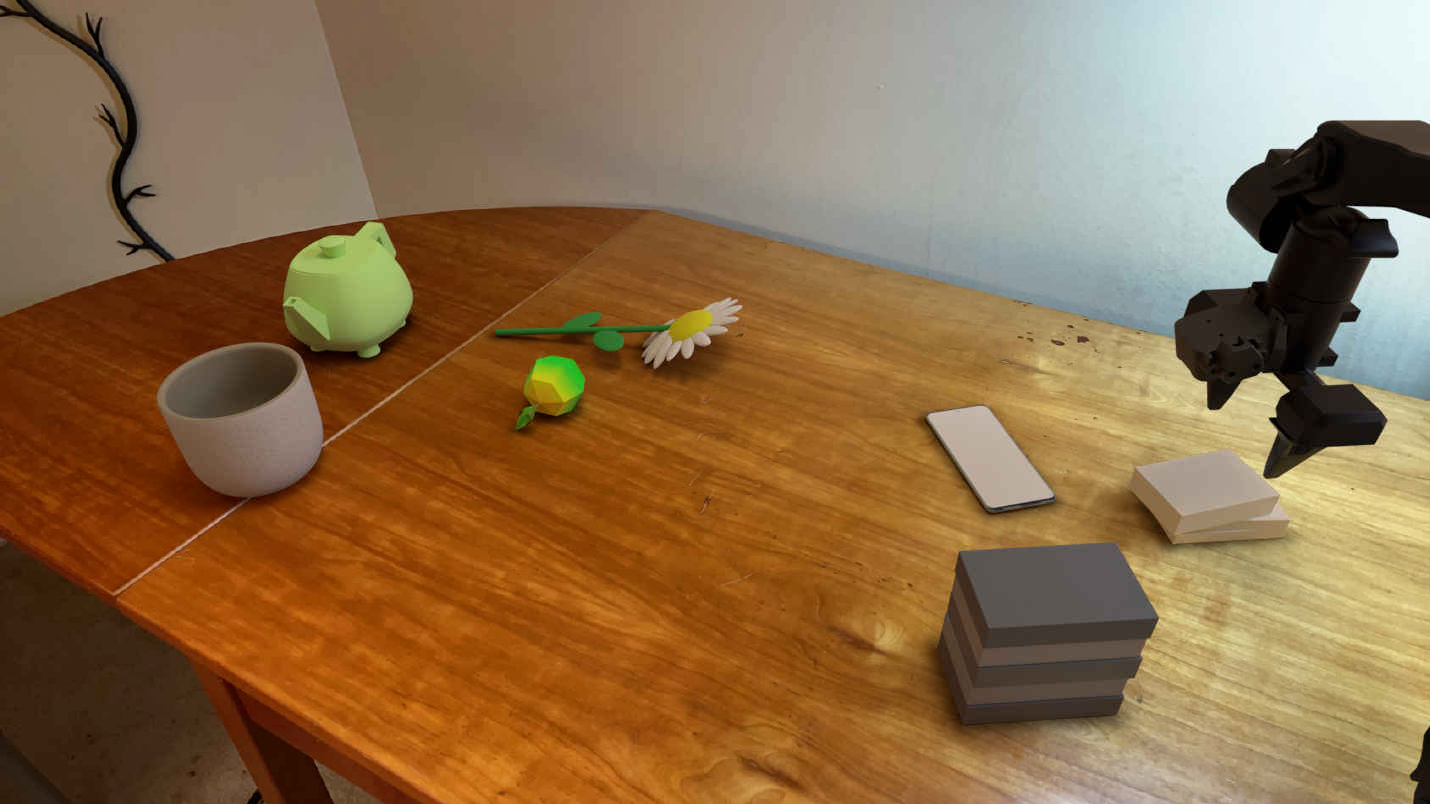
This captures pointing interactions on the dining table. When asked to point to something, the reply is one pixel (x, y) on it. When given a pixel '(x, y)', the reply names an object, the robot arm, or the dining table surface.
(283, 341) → the dining table surface
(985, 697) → the grey stack
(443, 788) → the dining table surface
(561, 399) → the apple
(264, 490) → the planter
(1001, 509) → the smartphone
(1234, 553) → the dining table surface
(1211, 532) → the beige rectangular slab
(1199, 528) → the cream block
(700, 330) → the decorative flower
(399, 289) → the teapot
